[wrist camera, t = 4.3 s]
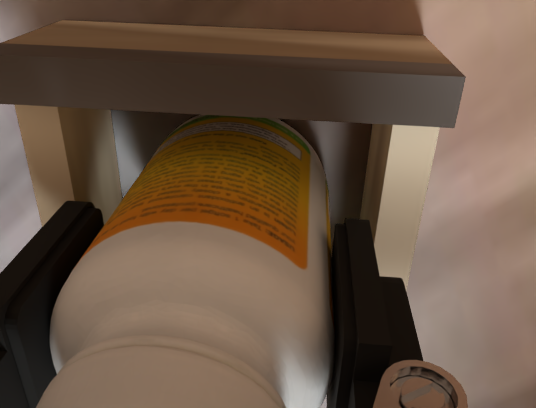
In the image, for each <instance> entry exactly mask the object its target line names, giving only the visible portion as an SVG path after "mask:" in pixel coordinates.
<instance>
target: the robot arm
mask: <svg viewBox="0 0 536 408" xmlns="http://www.w3.org/2000/svg"><path fill="white" fill-rule="evenodd" d="M103 226H104V221H103V215H102V211H101V209H99V208H95V206H94V204H93V203H92V202H84V201H66V202H65V203H64V204H63V205H62V206H61V207H60V208H59V209H58V210H57V211H56V213H55V214H54V215H53V216H52V217H51V218H50V219H49V220H48V221H47V222H46V224H45V225H44V226H43V227H42V228H41V229H40V230H39V231H38V232H37V234H36V235H35V236H34V237H33V238H32V239H31V240H30V241H29V242H28V243H27V245H26V246H25V247H24V248H23V249H22V250H21V251H20V252H19V253H18V255H17V256H16V257H15V258H14V259H13V260H12V261H11V262H10V263H9V264H8V266H7V267H6V268H5V269H4V270H3V271H2V272H1V273H0V408H36V407H37V405H38V403H39V401H40V399H41V397H42V395H43V393H44V391H45V390H46V388H47V387H48V385H49V384H50V382H51V381H52V380H53V379H54V378H55V376H57V373H56V370H55V367H54V364H53V360H52V355H51V350H50V323H51V316H52V312H53V308H54V305H55V303H56V300H57V298H58V295H59V293H60V291H61V289H62V287H63V286H64V284H65V282H66V281H67V279H68V277H69V275H70V274H71V272H72V270H73V269H74V267H75V266H76V265H77V263H78V262H79V260H80V259H81V257H82V256H83V255H84V253H85V252H86V250H87V249H88V247H89V246H90V245H91V243H92V242H93V240H94V239H95V238H96V236H97V235H98V233H99V232H100V231H101V229H102V228H103ZM332 285H333V309H334V325H335V354H334V369H333V374H332V379H331V383H330V386H329V390H328V392H327V408H468V404H467V396H466V394H465V392H464V390H463V388H462V386H461V384H460V383H459V382H458V381H457V380H456V379H455V378H454V377H453V375H451V374H450V373H448V372H447V371H445V370H444V369H443V368H441V367H439V366H436V365H434V364H432V363H429V362H424V361H423V357H422V353H421V349H420V345H419V341H418V337H417V333H416V329H415V325H414V321H413V317H412V313H411V309H410V305H409V301H408V297H407V293H406V289H405V285H404V282H403V279H402V278H399V277H385V276H380V275H379V270H378V264H377V259H376V253H375V248H374V242H373V237H372V231H371V226H370V221H369V220H363V219H347V218H345V221H344V224H336V225H335V232H334V241H333V251H332Z"/></svg>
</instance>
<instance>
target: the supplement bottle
mask: <svg viewBox="0 0 536 408" xmlns="http://www.w3.org/2000/svg"><path fill="white" fill-rule="evenodd" d="M50 350H51V355H52V360H53V364H54V367H55V370H56V373H57V376H55V378H54V379H53V380H52V381H51V382H50V384H49V385H48V387H47V388H46V390H45V391H44V393H43V395H42V397H41V399H40V401H39V403H38V405H37V407H36V408H320V406H321V405H322V403H323V401H324V399H325V397H326V394H327V392H328V390H329V386H330V383H331V379H332V374H333V369H334V354H335V325H334V309H333V285H332V258H331V232H330V205H329V191H328V185H327V180H326V175H325V172H324V169H323V166H322V164H321V161H320V159H319V157H318V156H317V154H316V152H315V151H314V149H313V148H312V147H311V145H310V144H309V143H308V142H307V141H306V140H305V138H304V137H303V136H302V135H301V134H299V133H298V132H297V131H296V130H295V129H293V128H292V127H290V126H289V125H287V124H286V123H284V122H283V121H281V120H279V119H276V118H257V117H238V116H220V115H201V114H200V115H198V116H195V117H193V118H191V119H189V120H187V121H186V122H184V123H183V124H181V125H180V126H179V127H177V128H176V129H175V130H174V131H173V132H172V133H171V134H169V136H168V137H167V138H166V139H165V140H164V141H163V143H162V144H161V145H160V146H159V148H158V149H157V151H156V152H155V153H154V155H153V156H152V158H151V159H150V161H149V162H148V164H147V165H146V167H145V168H144V169H143V171H142V172H141V174H140V175H139V177H138V178H137V180H136V181H135V182H134V184H133V185H132V186H131V188H130V189H129V191H128V192H127V194H126V195H125V197H124V198H123V200H122V201H121V202H120V204H119V205H118V207H117V208H116V210H115V211H114V212H113V214H112V215H111V217H110V218H109V219H108V221H107V222H106V224H105V225H104V226H103V228H102V229H101V231H100V232H99V233H98V235H97V236H96V238H95V239H94V240H93V242H92V243H91V245H90V246H89V247H88V249H87V250H86V252H85V253H84V255H83V256H82V257H81V259H80V260H79V262H78V263H77V265H76V266H75V267H74V269H73V270H72V272H71V274H70V275H69V277H68V279H67V281H66V282H65V284H64V286H63V287H62V289H61V291H60V293H59V295H58V298H57V300H56V303H55V305H54V308H53V312H52V316H51V323H50Z"/></svg>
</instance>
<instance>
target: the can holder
mask: <svg viewBox="0 0 536 408" xmlns="http://www.w3.org/2000/svg"><path fill="white" fill-rule="evenodd" d="M465 78H466V77H465V76H464V75H463V74H462V73H461V72H460V71H459V70H458V69H457V68H456V67H455V66H454V65H453V64H452V63H451V62H450V61H449V60H448V59H447V58H446V57H445V56H444V55H443V54H442V53H441V52H440V51H439V50H438V49H437V48H436V47H435V46H434V45H433V44H432V43H431V42H430V41H429V40H428V39H427V38H426V37H425V36H419V35H396V34H373V33H350V32H327V31H303V30H280V29H257V28H234V27H211V26H188V25H164V24H141V23H118V22H95V21H72V20H61V21H58V22H56V23H53V24H50V25H48V26H45V27H42V28H40V29H37V30H34V31H32V32H29V33H26V34H24V35H21V36H18V37H16V38H13V39H10V40H7V41H5V42H2V43H0V104H14V105H15V109H16V114H17V118H18V122H19V127H20V131H21V136H22V140H23V144H24V149H25V153H26V158H27V162H28V166H29V171H30V175H31V179H32V184H33V188H34V193H35V197H36V201H37V206H38V210H39V215H40V219H41V223H42V227H43V226H44V225H45V224H46V222H47V221H48V220H49V219H50V218H51V217H52V216H53V215H54V214H55V213H56V211H57V210H58V209H59V208H60V207H61V206H62V205H63V204H64V203H65V202H66V201H84V202H92V203H93V204H94V206H95V208H99V209H101V211H102V215H103V221H104V225H105V224H106V222H107V221H108V219H109V218H110V217H111V215H112V214H113V212H114V211H115V210H116V208H117V207H118V205H119V204H120V202H121V201H122V193H121V186H120V178H119V170H118V163H117V155H116V148H115V140H114V132H113V125H112V117H111V110H126V111H145V112H164V113H182V114H201V115H220V116H238V117H257V118H276V119H294V120H313V121H332V122H350V123H369V124H373V125H372V132H371V140H370V147H369V154H368V162H367V169H366V176H365V184H364V191H363V199H362V206H361V213H360V219H363V220H369V221H370V226H371V231H372V237H373V242H374V248H375V253H376V259H377V264H378V270H379V275H380V276H385V277H399V278H402V279H403V282H404V285H405V289H407V284H408V279H409V274H410V269H411V265H412V260H413V255H414V250H415V245H416V240H417V235H418V230H419V226H420V221H421V216H422V211H423V206H424V201H425V196H426V192H427V187H428V182H429V177H430V172H431V167H432V162H433V157H434V153H435V148H436V143H437V138H438V133H439V128H440V127H444V128H454V127H455V123H456V118H457V114H458V109H459V105H460V100H461V96H462V91H463V87H464V82H465Z"/></svg>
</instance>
